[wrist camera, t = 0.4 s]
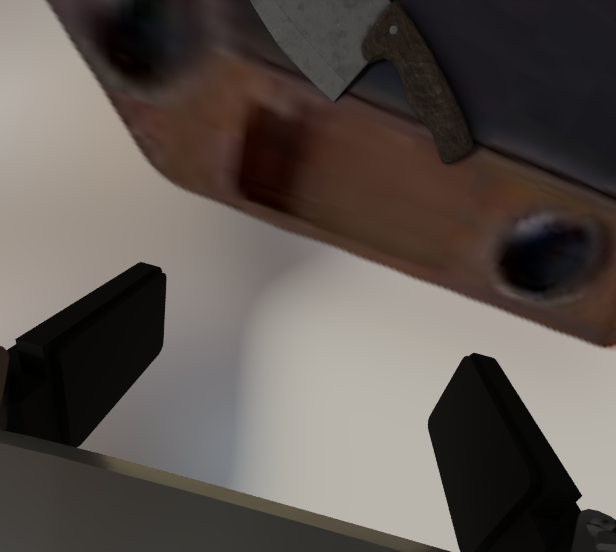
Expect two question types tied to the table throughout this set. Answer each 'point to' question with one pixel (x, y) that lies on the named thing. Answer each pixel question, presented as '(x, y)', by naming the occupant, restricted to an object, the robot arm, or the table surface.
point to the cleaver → (368, 57)
